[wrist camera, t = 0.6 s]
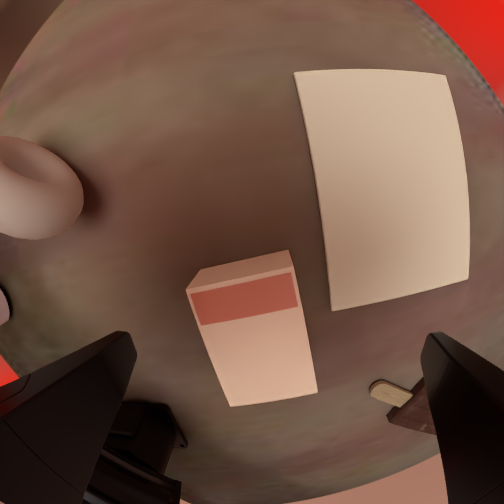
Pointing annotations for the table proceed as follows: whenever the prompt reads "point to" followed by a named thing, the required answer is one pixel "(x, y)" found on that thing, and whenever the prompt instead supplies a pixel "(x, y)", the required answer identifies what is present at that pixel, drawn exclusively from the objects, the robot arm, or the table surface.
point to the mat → (386, 181)
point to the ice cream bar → (406, 405)
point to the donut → (36, 191)
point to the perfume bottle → (3, 309)
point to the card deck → (254, 328)
